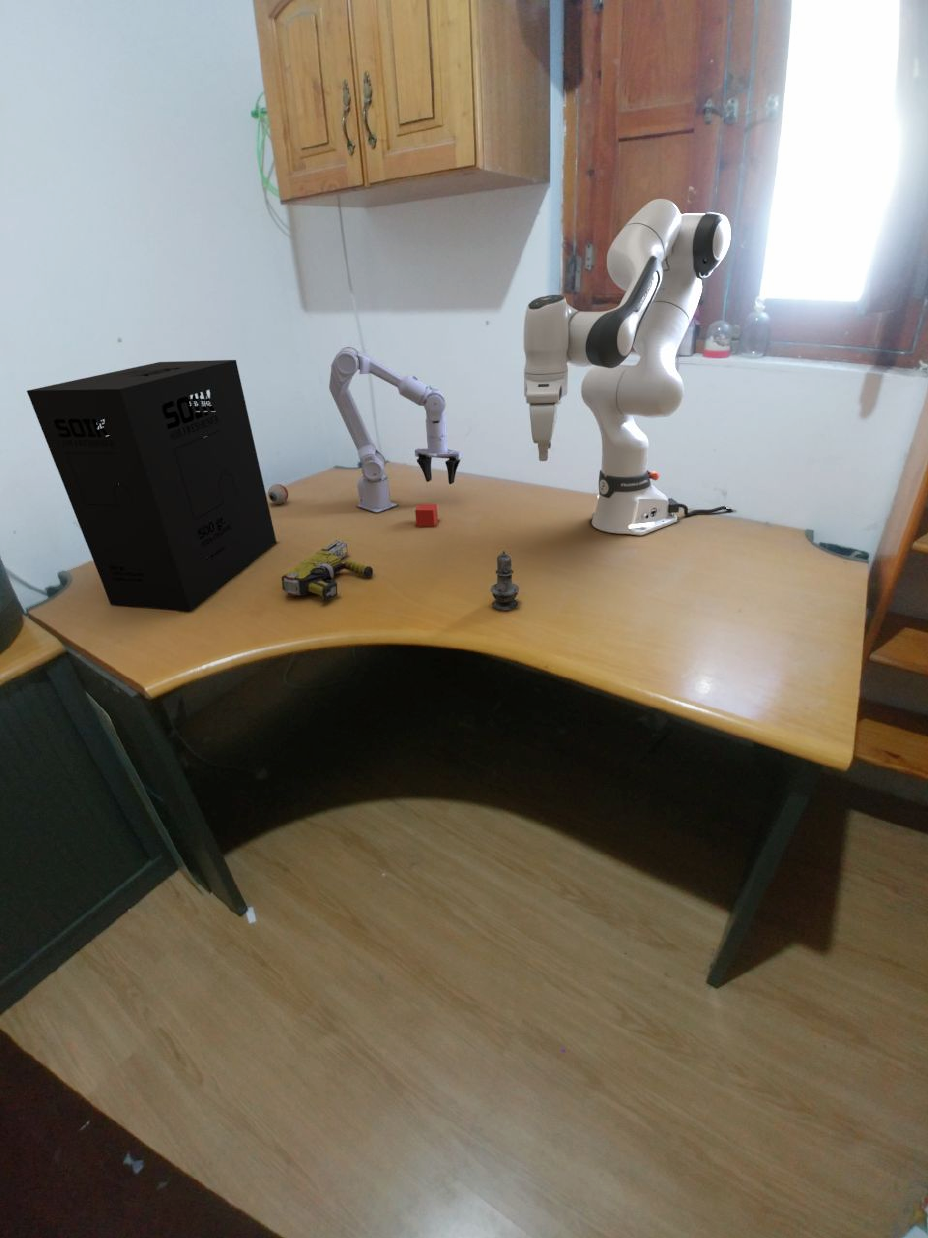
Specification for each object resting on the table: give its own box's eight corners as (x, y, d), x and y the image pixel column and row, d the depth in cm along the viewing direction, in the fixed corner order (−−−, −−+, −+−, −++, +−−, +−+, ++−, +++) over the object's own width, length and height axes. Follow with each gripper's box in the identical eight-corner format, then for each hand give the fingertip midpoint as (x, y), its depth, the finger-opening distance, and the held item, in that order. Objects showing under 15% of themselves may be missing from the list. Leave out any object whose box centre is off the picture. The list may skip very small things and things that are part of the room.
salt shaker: (517, 611, 121) (517, 557, 115) (488, 610, 122) (486, 556, 116) (521, 598, 126) (520, 545, 120) (493, 596, 127) (491, 544, 121)
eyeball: (265, 505, 187) (261, 487, 184) (278, 499, 192) (274, 480, 189) (281, 507, 185) (277, 488, 182) (293, 500, 190) (290, 482, 187)
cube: (420, 520, 170) (418, 503, 167) (438, 520, 169) (436, 503, 166) (416, 526, 165) (414, 509, 163) (434, 526, 165) (433, 510, 162)
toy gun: (389, 548, 145) (334, 537, 149) (339, 588, 125) (277, 575, 129) (389, 566, 147) (335, 555, 151) (340, 608, 127) (279, 595, 131)
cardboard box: (190, 611, 129) (119, 389, 106) (110, 604, 133) (26, 390, 111) (276, 542, 160) (235, 359, 138) (209, 539, 165) (159, 361, 142)
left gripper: (407, 437, 172) (412, 483, 178) (453, 440, 166) (455, 488, 173) (420, 431, 177) (423, 476, 184) (464, 434, 171) (466, 481, 178)
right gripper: (534, 377, 132) (534, 441, 139) (525, 396, 115) (525, 467, 122) (563, 376, 131) (562, 441, 138) (558, 395, 114) (557, 467, 121)
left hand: (440, 481), depth 179 cm, fingers open, 7 cm apart
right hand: (545, 453), depth 130 cm, fingers open, 8 cm apart
